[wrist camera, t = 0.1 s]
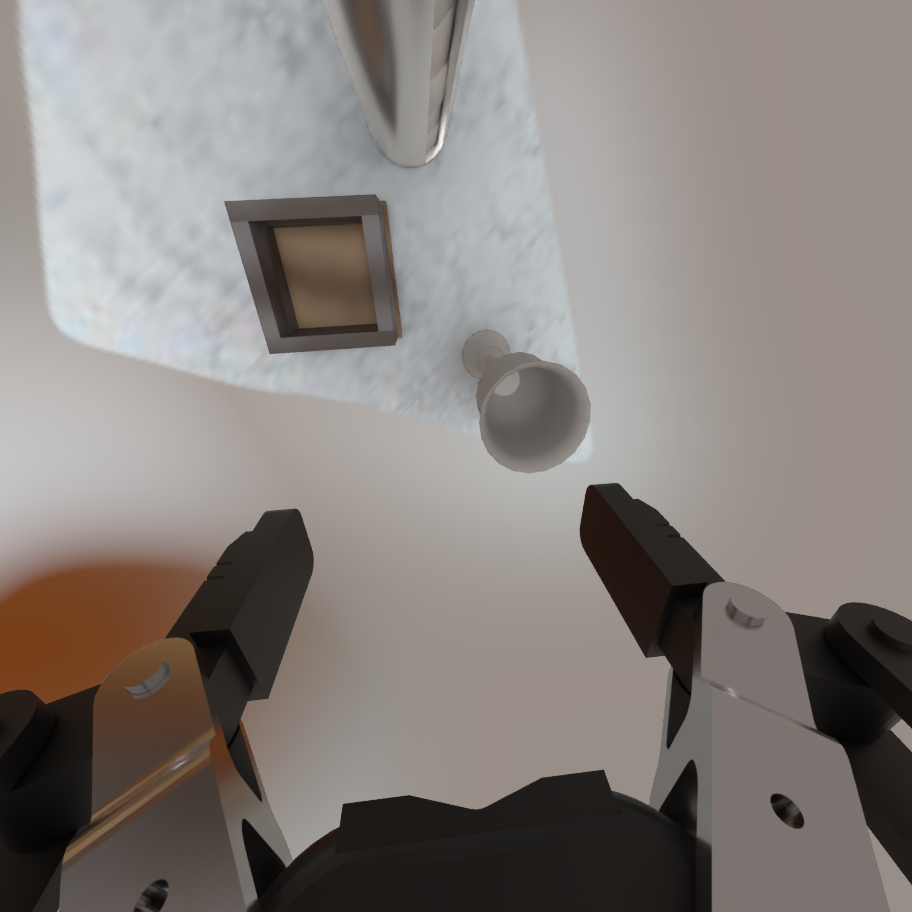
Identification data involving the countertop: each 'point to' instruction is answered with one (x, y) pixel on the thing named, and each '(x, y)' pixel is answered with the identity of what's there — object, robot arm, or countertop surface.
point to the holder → (319, 271)
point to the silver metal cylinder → (403, 68)
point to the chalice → (525, 405)
